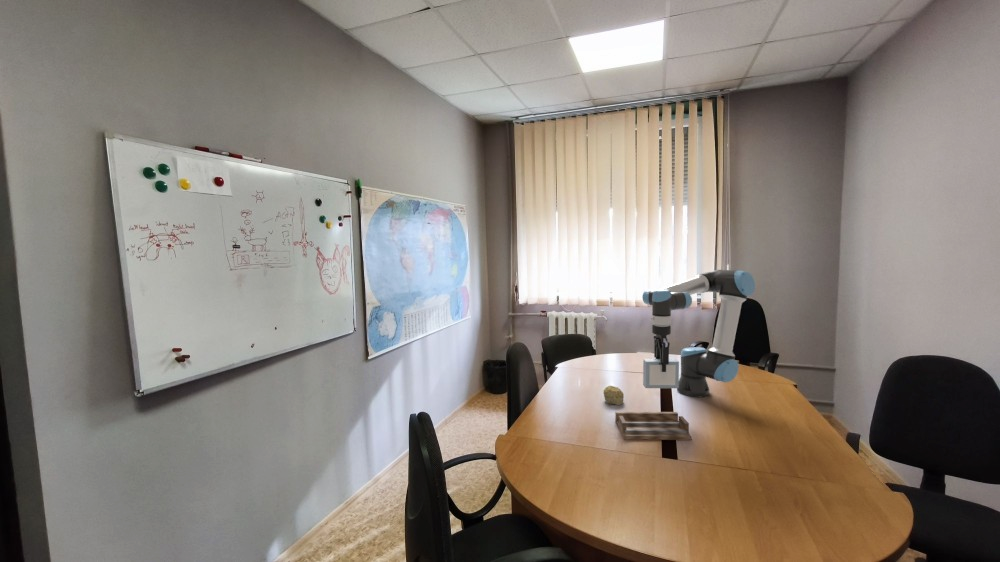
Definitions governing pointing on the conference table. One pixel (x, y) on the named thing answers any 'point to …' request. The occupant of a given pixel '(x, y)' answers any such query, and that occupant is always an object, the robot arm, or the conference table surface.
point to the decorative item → (613, 395)
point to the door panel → (653, 374)
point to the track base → (652, 425)
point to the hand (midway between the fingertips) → (661, 376)
